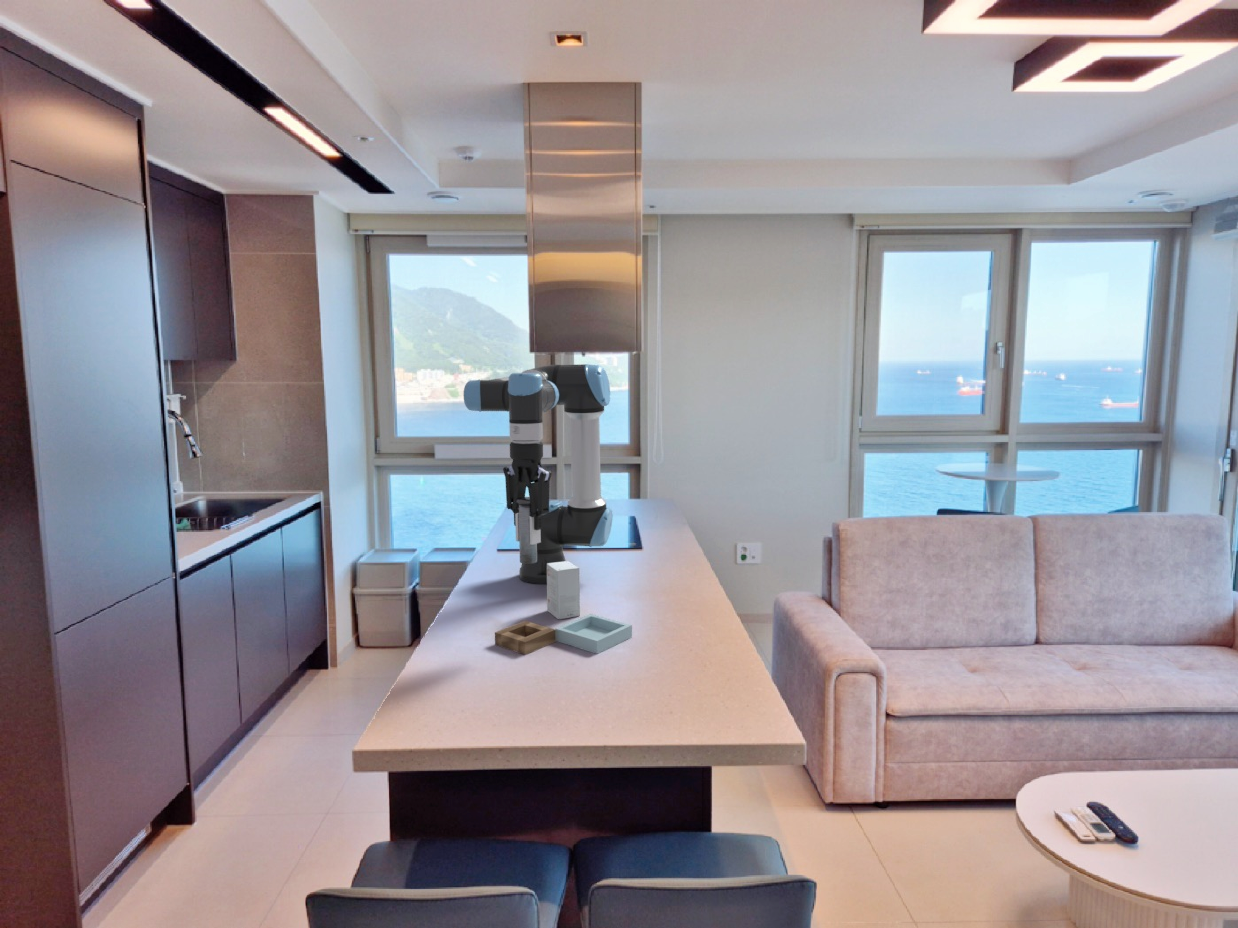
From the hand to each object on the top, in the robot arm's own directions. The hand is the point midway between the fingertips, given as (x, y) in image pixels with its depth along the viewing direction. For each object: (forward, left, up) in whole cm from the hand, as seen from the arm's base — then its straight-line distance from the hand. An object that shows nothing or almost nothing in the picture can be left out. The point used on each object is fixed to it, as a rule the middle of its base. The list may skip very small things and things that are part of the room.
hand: (528, 541), depth 174 cm
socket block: (-1, -1, -25) cm, 25 cm away
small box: (-8, +20, -25) cm, 33 cm away
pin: (0, 0, -5) cm, 5 cm away
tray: (+10, +11, -25) cm, 29 cm away
